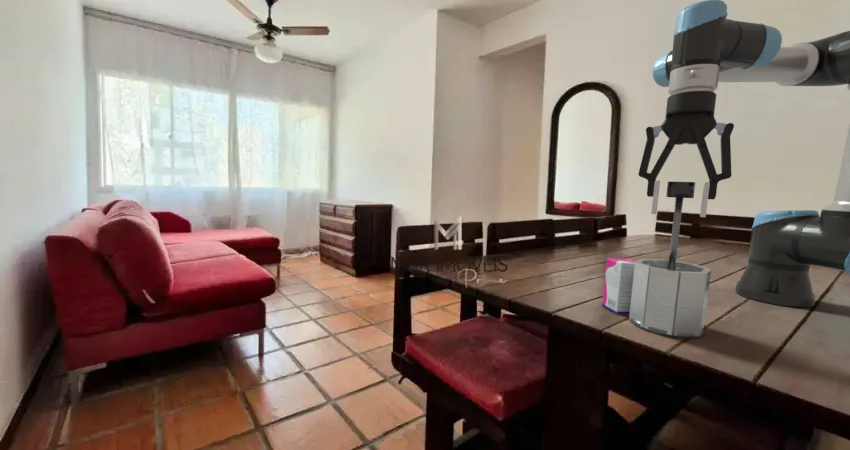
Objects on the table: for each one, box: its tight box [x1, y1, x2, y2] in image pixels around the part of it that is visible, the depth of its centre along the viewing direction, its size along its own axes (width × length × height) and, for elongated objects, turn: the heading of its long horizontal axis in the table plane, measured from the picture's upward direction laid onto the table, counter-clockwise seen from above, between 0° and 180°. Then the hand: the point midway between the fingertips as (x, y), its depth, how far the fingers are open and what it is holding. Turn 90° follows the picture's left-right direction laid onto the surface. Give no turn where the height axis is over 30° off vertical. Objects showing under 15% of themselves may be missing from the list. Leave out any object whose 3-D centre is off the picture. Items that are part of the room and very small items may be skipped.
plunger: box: [665, 181, 696, 271], centre depth 73 cm, size 8×8×20 cm
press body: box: [628, 258, 712, 340], centre depth 75 cm, size 12×15×12 cm
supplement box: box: [601, 257, 636, 315], centre depth 83 cm, size 6×6×12 cm
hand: (677, 214), depth 72 cm, fingers open, 7 cm apart
